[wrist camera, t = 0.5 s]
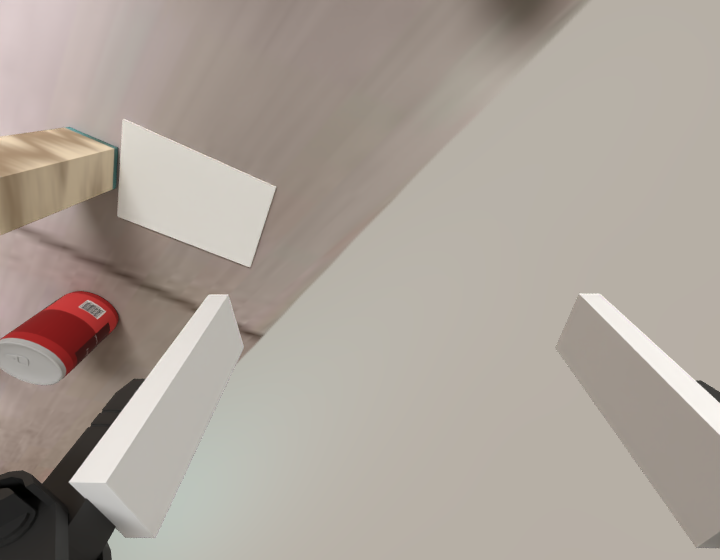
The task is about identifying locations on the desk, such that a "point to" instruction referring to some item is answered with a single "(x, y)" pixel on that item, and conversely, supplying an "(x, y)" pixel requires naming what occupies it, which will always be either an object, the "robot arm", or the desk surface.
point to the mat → (190, 195)
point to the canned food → (57, 338)
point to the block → (51, 173)
